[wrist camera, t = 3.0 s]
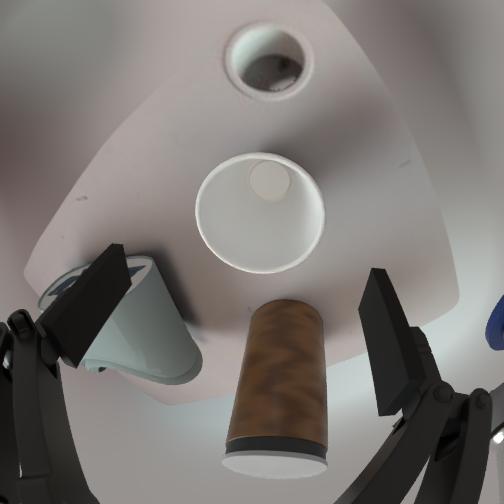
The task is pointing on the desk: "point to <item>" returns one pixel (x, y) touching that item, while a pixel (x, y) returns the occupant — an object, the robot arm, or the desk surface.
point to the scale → (275, 457)
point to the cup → (260, 212)
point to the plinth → (282, 376)
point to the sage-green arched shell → (139, 329)
